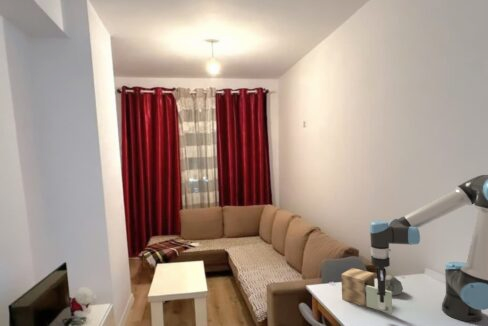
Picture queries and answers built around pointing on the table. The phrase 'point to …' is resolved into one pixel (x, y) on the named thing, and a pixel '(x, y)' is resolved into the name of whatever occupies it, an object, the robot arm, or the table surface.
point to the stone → (393, 285)
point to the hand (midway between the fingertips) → (381, 308)
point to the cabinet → (356, 285)
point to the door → (373, 299)
